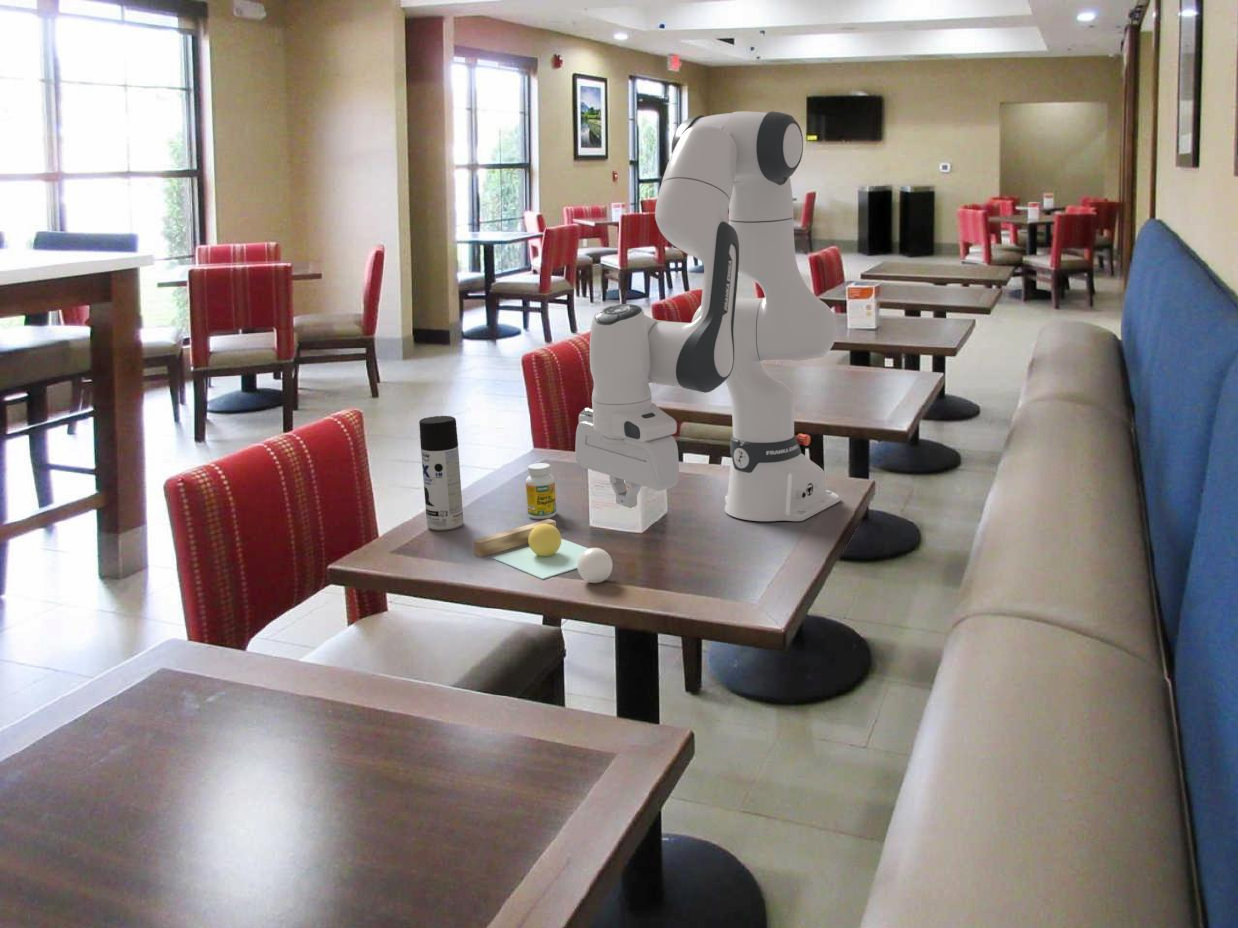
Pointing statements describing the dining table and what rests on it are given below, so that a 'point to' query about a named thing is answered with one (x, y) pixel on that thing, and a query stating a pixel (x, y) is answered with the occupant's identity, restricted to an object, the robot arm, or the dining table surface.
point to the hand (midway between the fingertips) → (626, 505)
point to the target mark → (544, 560)
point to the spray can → (441, 473)
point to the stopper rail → (506, 539)
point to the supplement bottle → (540, 492)
